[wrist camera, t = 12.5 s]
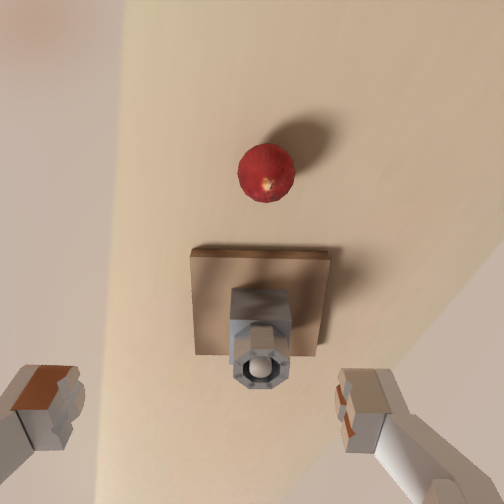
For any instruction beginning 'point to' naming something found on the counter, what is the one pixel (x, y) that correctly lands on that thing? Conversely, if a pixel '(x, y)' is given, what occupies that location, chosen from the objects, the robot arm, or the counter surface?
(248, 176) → the red rounded piece
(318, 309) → the post stand
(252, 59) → the counter surface
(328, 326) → the counter surface
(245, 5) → the counter surface
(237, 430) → the counter surface
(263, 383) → the collar
